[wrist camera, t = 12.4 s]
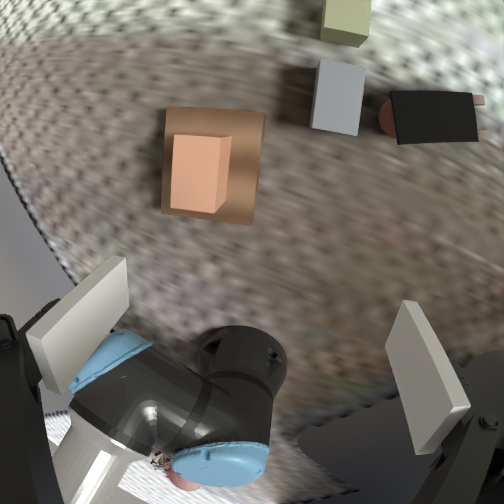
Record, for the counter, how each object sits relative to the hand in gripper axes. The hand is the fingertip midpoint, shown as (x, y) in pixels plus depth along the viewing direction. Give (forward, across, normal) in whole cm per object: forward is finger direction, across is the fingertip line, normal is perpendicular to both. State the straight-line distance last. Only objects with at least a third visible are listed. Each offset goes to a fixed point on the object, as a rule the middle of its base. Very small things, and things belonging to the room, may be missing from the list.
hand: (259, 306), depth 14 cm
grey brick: (+29, -5, -12) cm, 32 cm away
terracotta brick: (+26, +9, -2) cm, 27 cm away
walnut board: (+29, +9, -2) cm, 30 cm away
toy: (+29, +14, +70) cm, 77 cm away
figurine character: (+29, -18, -13) cm, 37 cm away
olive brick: (+29, -5, -24) cm, 38 cm away
